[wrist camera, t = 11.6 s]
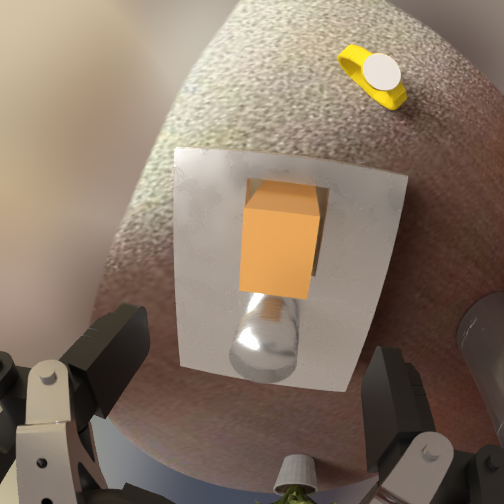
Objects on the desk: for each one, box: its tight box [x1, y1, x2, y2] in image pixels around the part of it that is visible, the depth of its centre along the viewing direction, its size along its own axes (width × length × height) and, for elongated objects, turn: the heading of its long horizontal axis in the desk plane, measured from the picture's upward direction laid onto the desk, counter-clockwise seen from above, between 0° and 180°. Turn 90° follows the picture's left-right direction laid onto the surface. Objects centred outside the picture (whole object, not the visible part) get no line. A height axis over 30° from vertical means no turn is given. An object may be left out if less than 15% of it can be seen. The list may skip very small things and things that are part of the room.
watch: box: [337, 44, 407, 110], centre depth 19 cm, size 6×3×6 cm, turn 49°
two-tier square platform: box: [174, 146, 408, 392], centre depth 24 cm, size 18×21×12 cm
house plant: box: [257, 454, 336, 504], centre depth 36 cm, size 14×14×16 cm
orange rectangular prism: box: [239, 180, 320, 300], centre depth 22 cm, size 4×5×10 cm
